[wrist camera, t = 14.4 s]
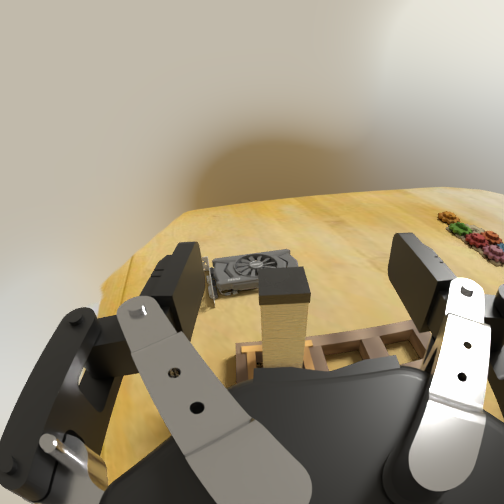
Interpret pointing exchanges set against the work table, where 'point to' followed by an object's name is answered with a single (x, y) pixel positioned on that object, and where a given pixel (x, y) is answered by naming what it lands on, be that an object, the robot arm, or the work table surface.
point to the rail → (339, 347)
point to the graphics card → (243, 270)
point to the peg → (283, 315)
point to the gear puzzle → (476, 238)
